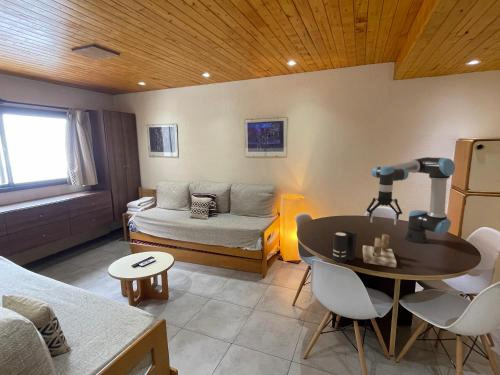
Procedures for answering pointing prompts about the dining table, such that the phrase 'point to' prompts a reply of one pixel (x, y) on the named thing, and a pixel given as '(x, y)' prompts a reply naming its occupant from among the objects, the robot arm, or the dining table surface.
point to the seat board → (385, 255)
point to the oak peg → (377, 247)
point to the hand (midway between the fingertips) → (383, 223)
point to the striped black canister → (344, 246)
